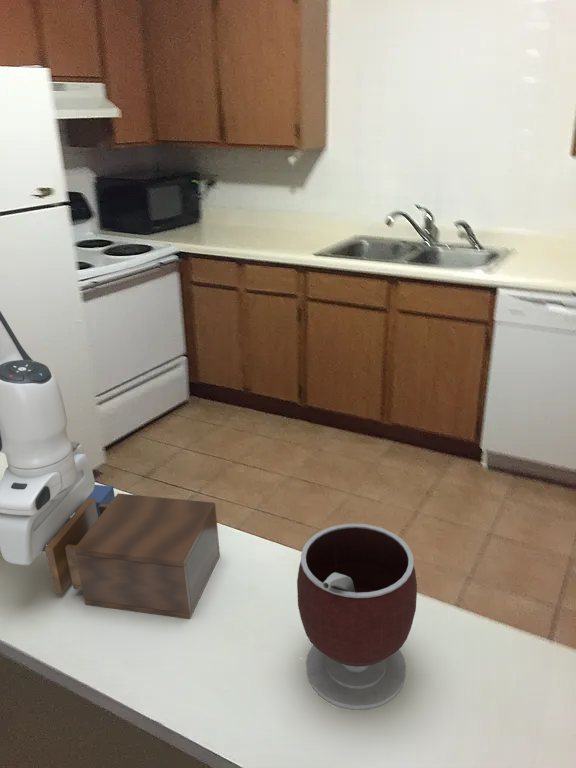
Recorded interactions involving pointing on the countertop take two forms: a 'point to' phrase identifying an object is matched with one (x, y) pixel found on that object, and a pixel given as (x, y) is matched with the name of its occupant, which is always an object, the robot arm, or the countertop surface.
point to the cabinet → (149, 555)
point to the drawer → (70, 546)
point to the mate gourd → (356, 613)
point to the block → (101, 496)
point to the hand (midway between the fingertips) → (60, 549)
